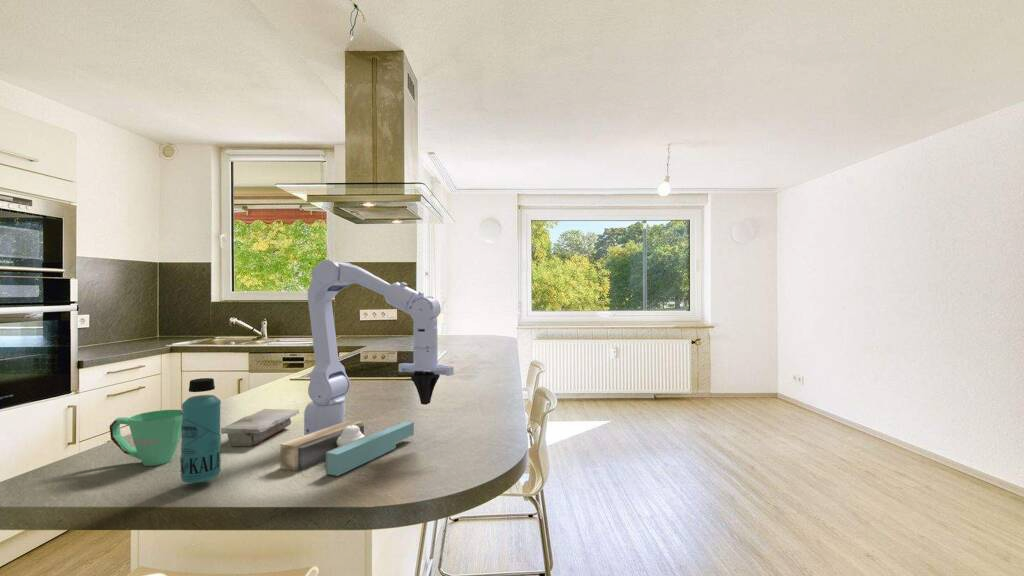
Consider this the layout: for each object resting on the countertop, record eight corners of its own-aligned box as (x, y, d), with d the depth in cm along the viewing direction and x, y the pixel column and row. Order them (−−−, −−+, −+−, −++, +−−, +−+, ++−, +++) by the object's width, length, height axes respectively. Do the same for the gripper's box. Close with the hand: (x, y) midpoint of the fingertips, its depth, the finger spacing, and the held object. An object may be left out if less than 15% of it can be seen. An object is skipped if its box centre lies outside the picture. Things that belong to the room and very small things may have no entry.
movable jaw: (325, 473, 95) (325, 452, 95) (403, 438, 118) (403, 421, 118) (337, 476, 94) (337, 454, 94) (413, 439, 117) (413, 422, 117)
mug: (195, 453, 108) (195, 409, 108) (165, 470, 98) (165, 421, 98) (128, 454, 107) (129, 409, 108) (91, 471, 98) (91, 421, 98)
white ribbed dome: (336, 462, 102) (336, 429, 102) (336, 453, 108) (336, 422, 108) (366, 459, 104) (366, 427, 104) (365, 450, 110) (365, 419, 110)
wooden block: (280, 468, 99) (280, 443, 99) (349, 440, 117) (349, 420, 117) (298, 472, 97) (298, 447, 97) (366, 443, 115) (366, 422, 115)
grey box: (218, 448, 112) (259, 449, 112) (218, 427, 112) (259, 428, 112) (264, 425, 130) (300, 426, 130) (264, 407, 130) (299, 408, 130)
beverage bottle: (192, 478, 94) (192, 375, 94) (228, 477, 94) (228, 375, 94) (171, 492, 87) (172, 382, 87) (210, 491, 88) (210, 381, 88)
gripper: (390, 347, 115) (390, 404, 115) (442, 350, 109) (442, 410, 109) (408, 344, 121) (408, 398, 121) (458, 347, 115) (458, 403, 115)
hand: (425, 403), depth 115 cm, fingers closed
